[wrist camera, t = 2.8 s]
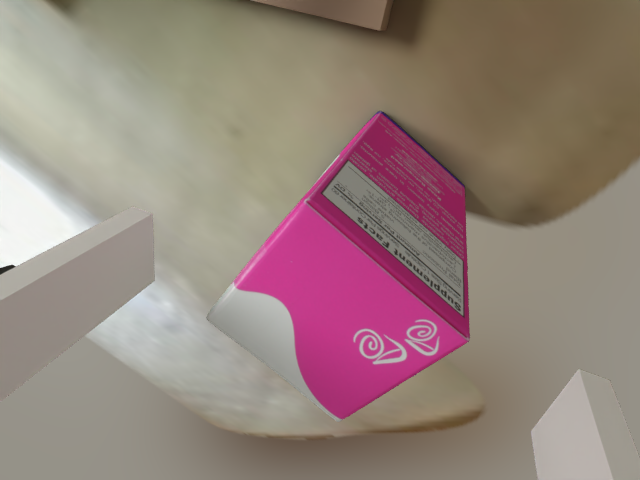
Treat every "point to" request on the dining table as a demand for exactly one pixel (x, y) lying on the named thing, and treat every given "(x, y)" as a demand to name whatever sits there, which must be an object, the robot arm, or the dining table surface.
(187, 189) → the dining table surface
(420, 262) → the supplement box
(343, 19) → the walnut board
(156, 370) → the dining table surface
